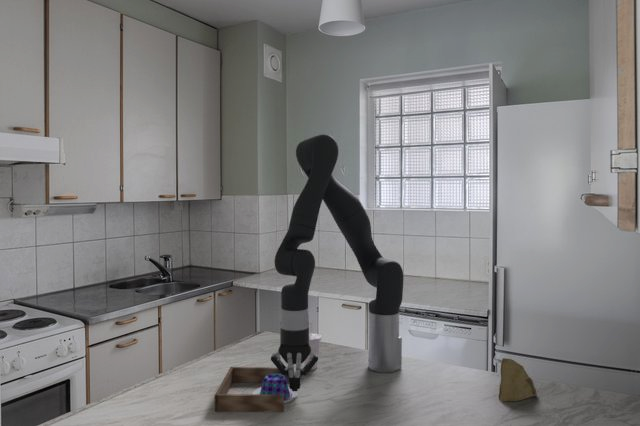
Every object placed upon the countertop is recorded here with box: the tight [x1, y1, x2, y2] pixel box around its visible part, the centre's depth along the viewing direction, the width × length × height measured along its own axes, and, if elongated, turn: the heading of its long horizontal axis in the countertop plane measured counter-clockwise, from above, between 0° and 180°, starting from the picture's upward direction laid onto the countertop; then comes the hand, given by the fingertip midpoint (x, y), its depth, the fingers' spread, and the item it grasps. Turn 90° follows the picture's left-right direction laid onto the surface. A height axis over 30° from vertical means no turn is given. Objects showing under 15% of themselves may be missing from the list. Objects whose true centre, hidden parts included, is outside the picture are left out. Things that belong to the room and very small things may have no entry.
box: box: [214, 366, 289, 413], centre depth 125 cm, size 17×19×4 cm
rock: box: [498, 357, 538, 403], centre depth 124 cm, size 11×9×10 cm
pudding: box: [252, 374, 298, 404], centre depth 125 cm, size 12×12×5 cm
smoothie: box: [303, 321, 322, 371], centre depth 145 cm, size 6×6×14 cm
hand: (294, 390), depth 125 cm, fingers closed
